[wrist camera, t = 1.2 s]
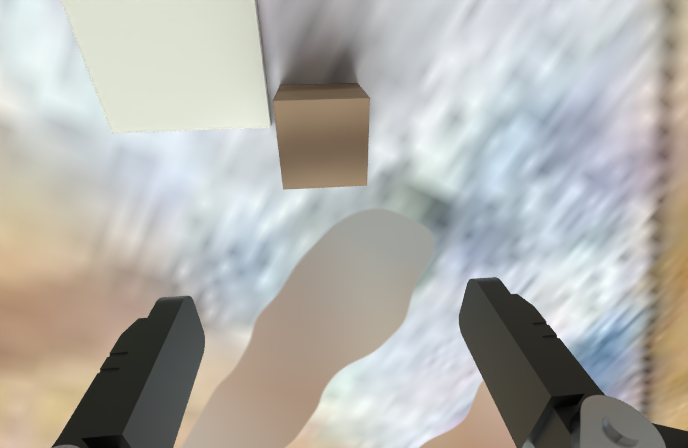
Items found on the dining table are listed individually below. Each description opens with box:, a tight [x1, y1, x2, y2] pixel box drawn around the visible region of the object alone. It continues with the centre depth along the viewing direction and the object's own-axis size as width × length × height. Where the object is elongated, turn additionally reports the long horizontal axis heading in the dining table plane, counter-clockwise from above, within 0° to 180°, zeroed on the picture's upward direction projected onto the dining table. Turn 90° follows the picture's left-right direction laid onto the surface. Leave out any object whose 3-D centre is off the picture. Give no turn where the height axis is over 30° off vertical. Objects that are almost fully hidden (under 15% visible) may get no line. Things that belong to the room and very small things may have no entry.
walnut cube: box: [273, 83, 370, 189], centre depth 24 cm, size 6×6×6 cm
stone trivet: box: [61, 0, 272, 133], centre depth 23 cm, size 12×12×1 cm
